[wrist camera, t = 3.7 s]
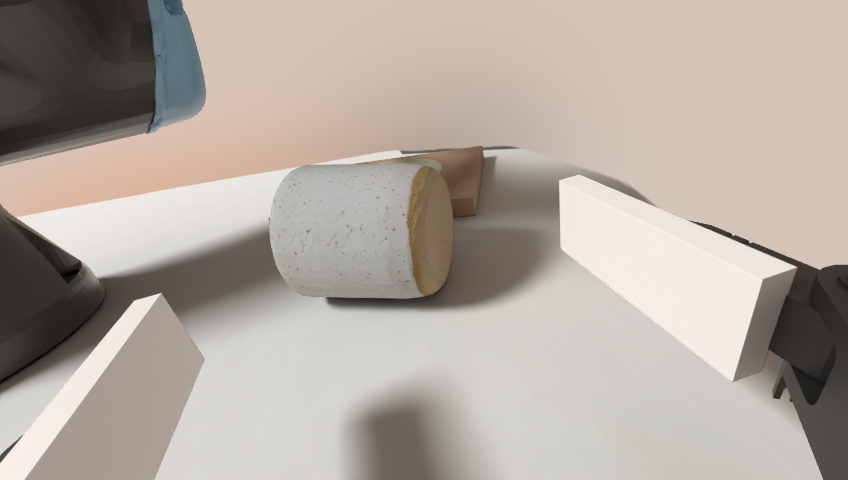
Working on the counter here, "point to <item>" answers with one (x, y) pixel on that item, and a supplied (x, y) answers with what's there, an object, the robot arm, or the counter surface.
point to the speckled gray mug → (363, 230)
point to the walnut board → (453, 174)
